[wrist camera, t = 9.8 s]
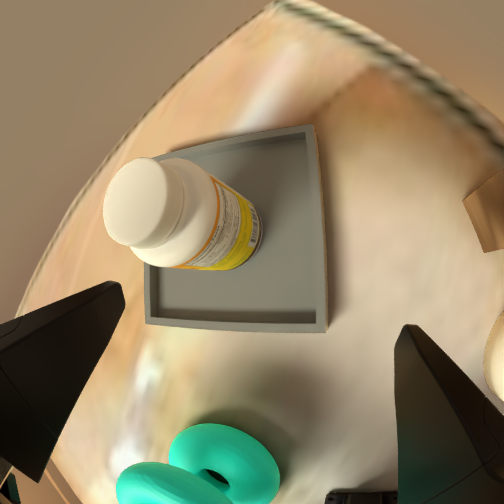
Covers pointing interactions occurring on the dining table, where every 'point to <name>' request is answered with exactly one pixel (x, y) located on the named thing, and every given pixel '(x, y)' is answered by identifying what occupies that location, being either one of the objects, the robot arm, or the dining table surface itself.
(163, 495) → the donuts
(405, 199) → the dining table surface
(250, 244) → the supplement bottle
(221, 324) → the slate tray
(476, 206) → the walnut block
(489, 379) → the cream rounded block
